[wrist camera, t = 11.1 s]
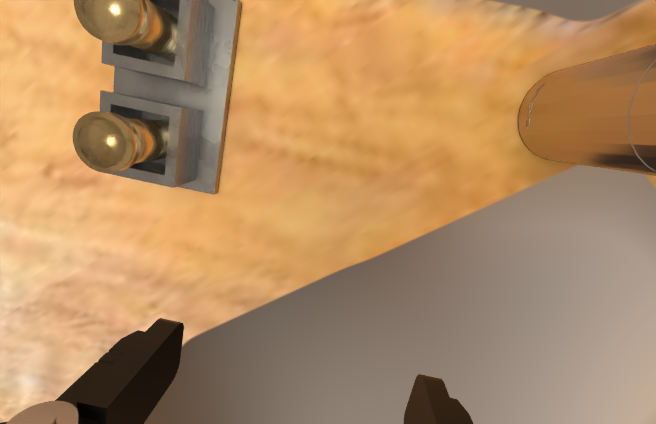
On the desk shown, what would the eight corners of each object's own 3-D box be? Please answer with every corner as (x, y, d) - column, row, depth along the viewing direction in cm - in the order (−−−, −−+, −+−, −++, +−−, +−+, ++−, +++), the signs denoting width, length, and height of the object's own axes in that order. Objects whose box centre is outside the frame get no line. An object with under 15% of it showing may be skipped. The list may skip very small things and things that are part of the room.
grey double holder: (242, 3, 34) (193, -56, 23) (217, 192, 39) (168, 216, 28) (126, -22, 34) (24, -93, 23) (116, 170, 39) (28, 186, 28)
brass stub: (190, 121, 36) (133, 118, 26) (185, 165, 37) (129, 178, 27) (146, 112, 36) (73, 105, 26) (143, 156, 37) (72, 165, 27)
